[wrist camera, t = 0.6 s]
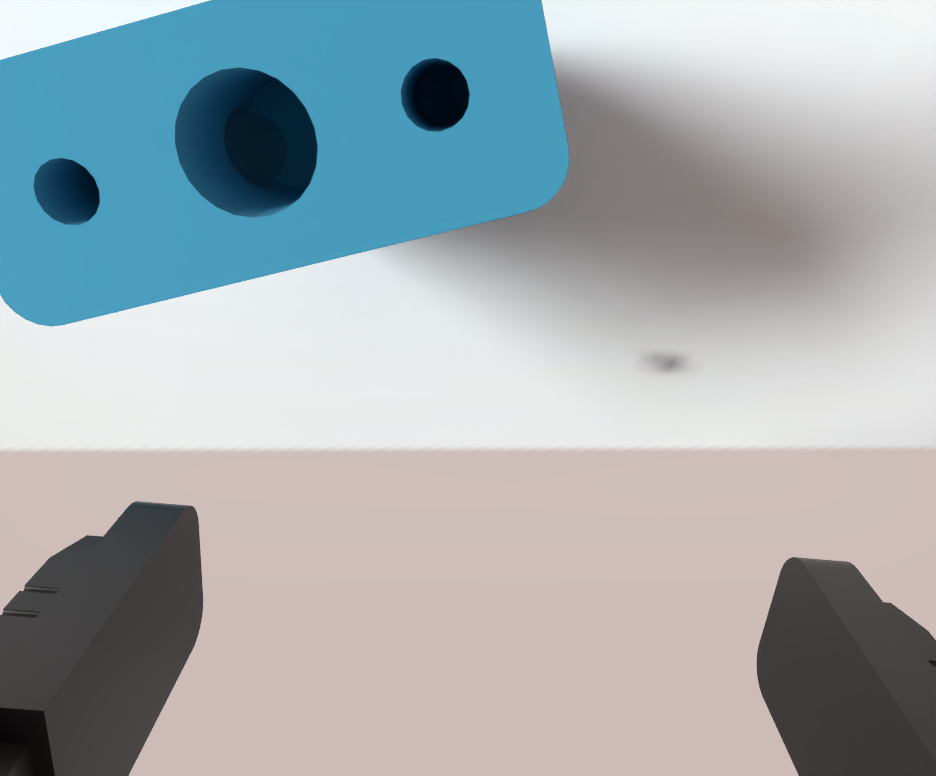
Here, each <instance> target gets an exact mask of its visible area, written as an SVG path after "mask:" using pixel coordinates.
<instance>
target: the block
mask: <svg viewBox="0 0 936 776" xmlns="http://www.w3.org/2000/svg"><path fill="white" fill-rule="evenodd" d="M568 166H569V147H568V142H567V137H566V131H565V126H564V120H563V115H562V110H561V104H560V99H559V93H558V88H557V83H556V77H555V72H554V66H553V61H552V56H551V50H550V45H549V39H548V34H547V29H546V23H545V18H544V12H543V7H542V2H541V0H210V1H207V2H203V3H200V4H196V5H193V6H189V7H186V8H182V9H179V10H175V11H172V12H168V13H165V14H161V15H158V16H154V17H151V18H147V19H143V20H140V21H136V22H133V23H129V24H126V25H122V26H119V27H115V28H112V29H108V30H105V31H101V32H98V33H94V34H91V35H87V36H83V37H80V38H76V39H73V40H69V41H66V42H62V43H59V44H55V45H52V46H48V47H45V48H41V49H38V50H34V51H31V52H27V53H24V54H20V55H16V56H13V57H9V58H6V59H2V60H0V295H1V296H2V298H3V300H4V301H5V303H6V304H7V305H8V306H9V307H10V308H11V309H12V310H13V311H14V312H16V313H17V314H19V315H20V316H21V317H23V318H24V319H26V320H29V321H31V322H34V323H36V324H39V325H46V326H58V325H65V324H69V323H73V322H77V321H81V320H85V319H89V318H94V317H98V316H102V315H106V314H110V313H114V312H118V311H122V310H126V309H131V308H135V307H139V306H143V305H147V304H151V303H155V302H159V301H163V300H168V299H172V298H176V297H180V296H184V295H188V294H192V293H196V292H200V291H205V290H209V289H213V288H217V287H221V286H225V285H229V284H233V283H237V282H242V281H246V280H250V279H254V278H258V277H262V276H266V275H270V274H274V273H279V272H283V271H287V270H291V269H295V268H299V267H303V266H307V265H311V264H315V263H320V262H324V261H328V260H332V259H336V258H340V257H344V256H348V255H352V254H357V253H361V252H365V251H369V250H373V249H377V248H381V247H385V246H389V245H394V244H398V243H402V242H406V241H410V240H414V239H418V238H422V237H426V236H431V235H435V234H439V233H443V232H447V231H451V230H455V229H459V228H463V227H468V226H472V225H476V224H480V223H484V222H488V221H492V220H496V219H500V218H505V217H509V216H513V215H517V214H521V213H525V212H529V211H531V210H534V209H537V208H539V207H541V206H543V205H544V204H545V203H547V202H548V201H550V200H551V199H552V198H553V197H554V196H555V194H556V193H557V192H558V191H559V190H560V188H561V186H562V184H563V182H564V180H565V178H566V176H567V171H568Z"/></svg>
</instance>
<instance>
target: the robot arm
mask: <svg viewBox="0 0 936 776" xmlns="http://www.w3.org/2000/svg"><path fill="white" fill-rule="evenodd" d="M3 610H4V611H3V614H2V615H0V776H128V775H129V773H130V771H131V769H132V767H133V765H134V763H135V761H136V759H137V758H138V755H139V753H140V752H141V750H142V748H143V746H144V744H145V742H146V740H147V738H148V736H149V734H150V732H151V730H152V728H153V726H154V724H155V722H156V720H157V718H158V716H159V714H160V712H161V710H162V708H163V706H164V705H165V703H166V701H167V699H168V697H169V695H170V692H171V691H172V689H173V687H174V685H175V683H176V681H177V679H178V677H179V675H180V673H181V671H182V669H183V667H184V665H185V663H186V661H187V659H188V657H189V655H190V653H191V651H192V649H193V647H194V645H195V642H196V639H197V636H198V633H199V629H200V624H201V619H202V610H203V590H202V574H201V556H200V540H199V523H198V516H197V512H196V510H195V508H194V507H193V506H187V505H175V504H163V503H151V502H139V501H137V502H133V503H132V504H131V505H130V506H129V507H128V508H127V509H126V510H125V511H124V513H123V514H122V515H121V516H120V517H119V518H118V520H117V521H116V522H115V523H114V525H113V526H112V527H111V528H110V529H109V531H108V532H107V533H106V534H105V535H104V537H101V536H88V535H87V536H85V537H84V538H82V539H80V540H79V541H77V542H75V543H74V544H72V545H71V546H69V547H67V548H65V549H64V550H62V551H60V552H59V553H57V554H55V555H54V556H52V557H50V558H49V559H48V560H47V561H46V563H45V564H44V565H43V566H42V567H41V568H40V569H39V571H37V573H35V575H34V576H33V577H32V578H31V579H30V580H29V581H28V582H27V583H26V585H25V589H24V591H19V592H18V593H17V594H16V596H15V597H14V598H13V599H12V600H11V601H10V602H9V603H8V604H7V605H6V607H5V608H4V609H3ZM757 675H758V681H759V687H760V690H761V693H762V696H763V698H764V700H765V703H766V705H767V707H768V709H769V711H770V713H771V716H772V718H773V720H774V722H775V724H776V727H777V729H778V731H779V733H780V735H781V738H782V740H783V742H784V744H785V746H786V748H787V751H788V753H789V755H790V757H791V759H792V761H793V764H794V766H795V768H796V770H797V772H798V775H799V776H936V640H935V639H934V638H933V636H932V635H931V634H930V633H929V632H928V631H927V630H926V629H925V628H923V627H922V626H921V625H919V624H918V623H917V622H915V621H914V620H913V619H911V618H910V617H909V616H907V615H906V614H905V613H904V612H902V611H901V610H899V609H898V608H897V607H895V606H894V605H893V604H891V603H884V602H882V600H881V599H880V598H879V596H878V595H877V594H876V593H875V591H874V590H873V589H872V587H871V586H870V585H869V583H868V582H867V581H866V580H865V578H864V577H863V576H862V574H861V573H860V572H859V571H858V569H857V568H856V567H855V566H854V565H853V564H851V563H849V562H844V561H831V560H819V559H808V558H796V557H792V558H790V559H788V560H787V561H786V562H785V563H784V565H783V567H782V569H781V572H780V576H779V579H778V582H777V586H776V589H775V593H774V596H773V599H772V603H771V606H770V609H769V613H768V616H767V620H766V623H765V626H764V629H763V633H762V636H761V640H760V643H759V647H758V653H757Z"/></svg>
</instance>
